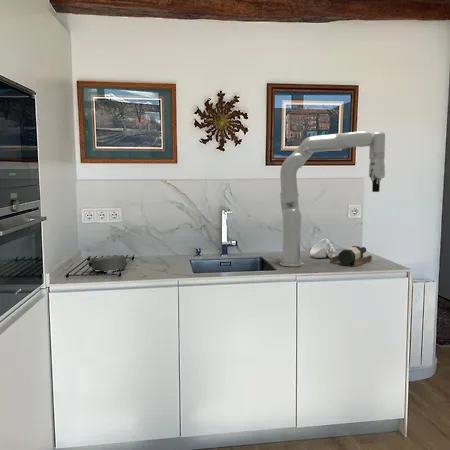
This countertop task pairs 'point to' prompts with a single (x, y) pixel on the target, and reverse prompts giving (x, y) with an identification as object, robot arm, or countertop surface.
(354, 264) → the cradle
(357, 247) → the wine bottle
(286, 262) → the robot arm
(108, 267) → the grey rounded piece
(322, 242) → the skull bowl
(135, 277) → the countertop surface
